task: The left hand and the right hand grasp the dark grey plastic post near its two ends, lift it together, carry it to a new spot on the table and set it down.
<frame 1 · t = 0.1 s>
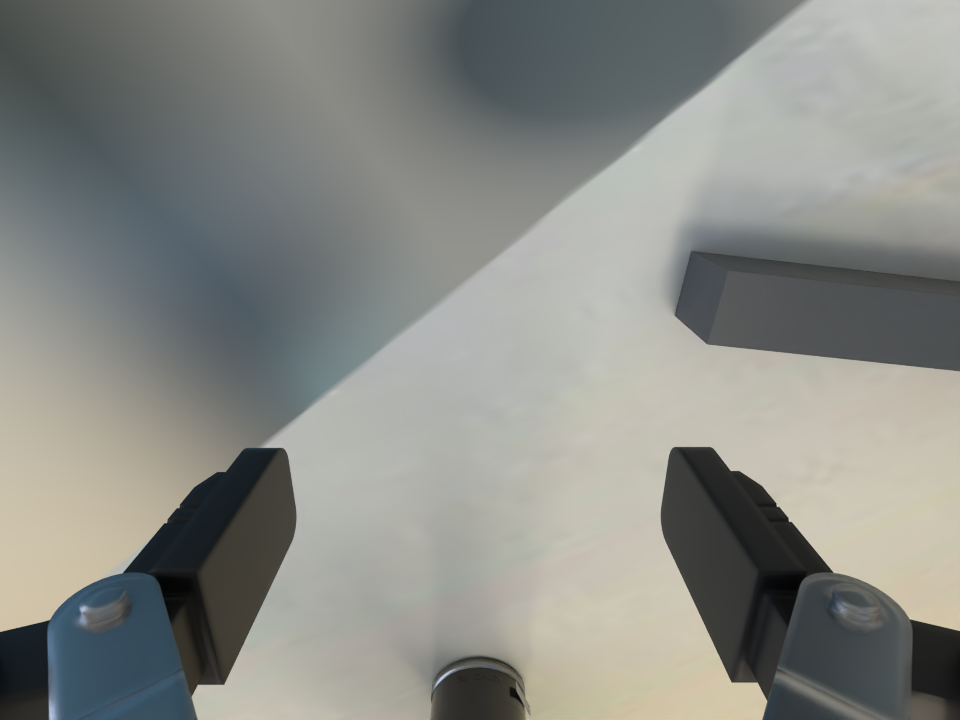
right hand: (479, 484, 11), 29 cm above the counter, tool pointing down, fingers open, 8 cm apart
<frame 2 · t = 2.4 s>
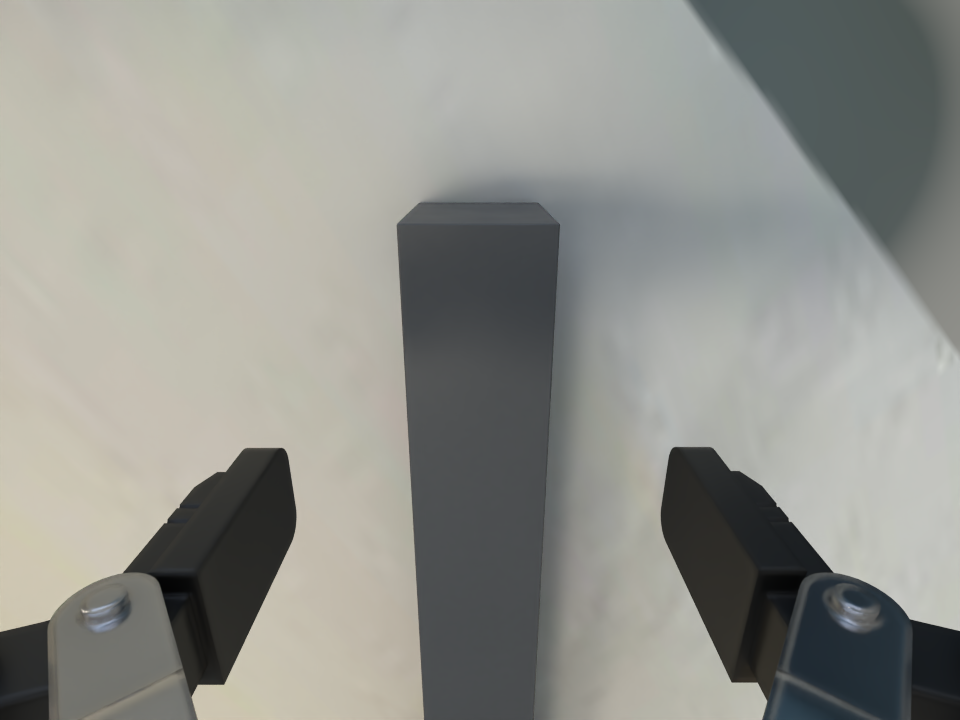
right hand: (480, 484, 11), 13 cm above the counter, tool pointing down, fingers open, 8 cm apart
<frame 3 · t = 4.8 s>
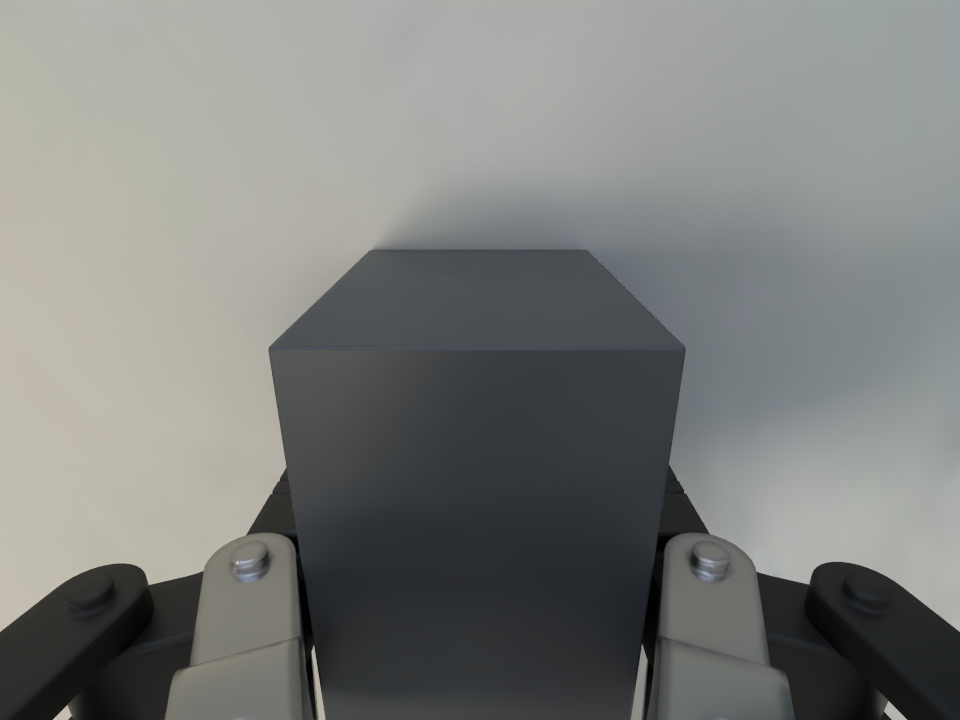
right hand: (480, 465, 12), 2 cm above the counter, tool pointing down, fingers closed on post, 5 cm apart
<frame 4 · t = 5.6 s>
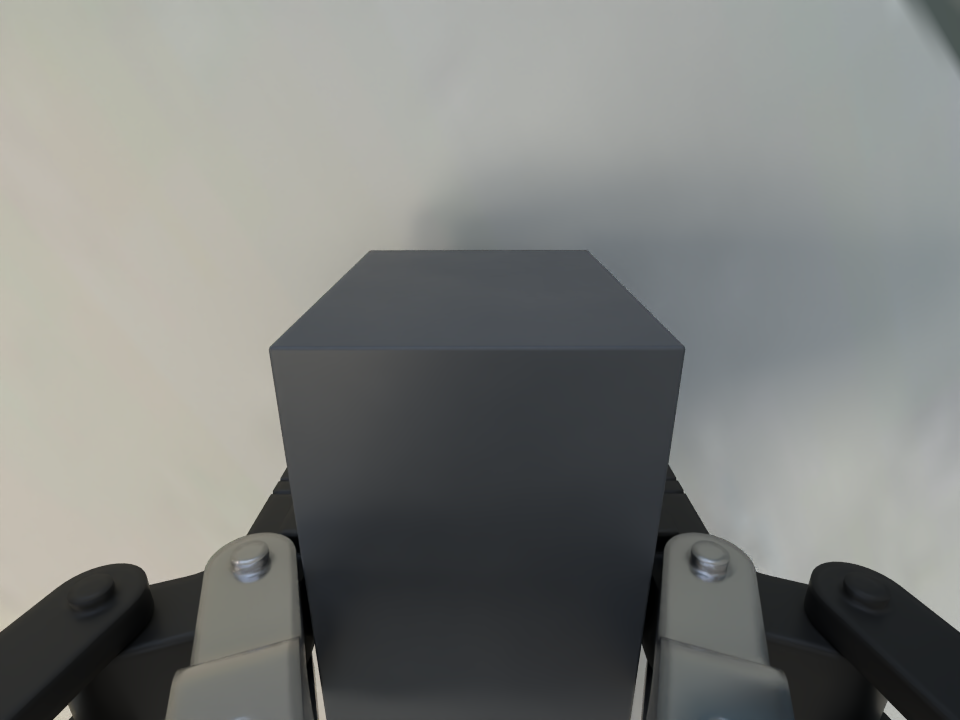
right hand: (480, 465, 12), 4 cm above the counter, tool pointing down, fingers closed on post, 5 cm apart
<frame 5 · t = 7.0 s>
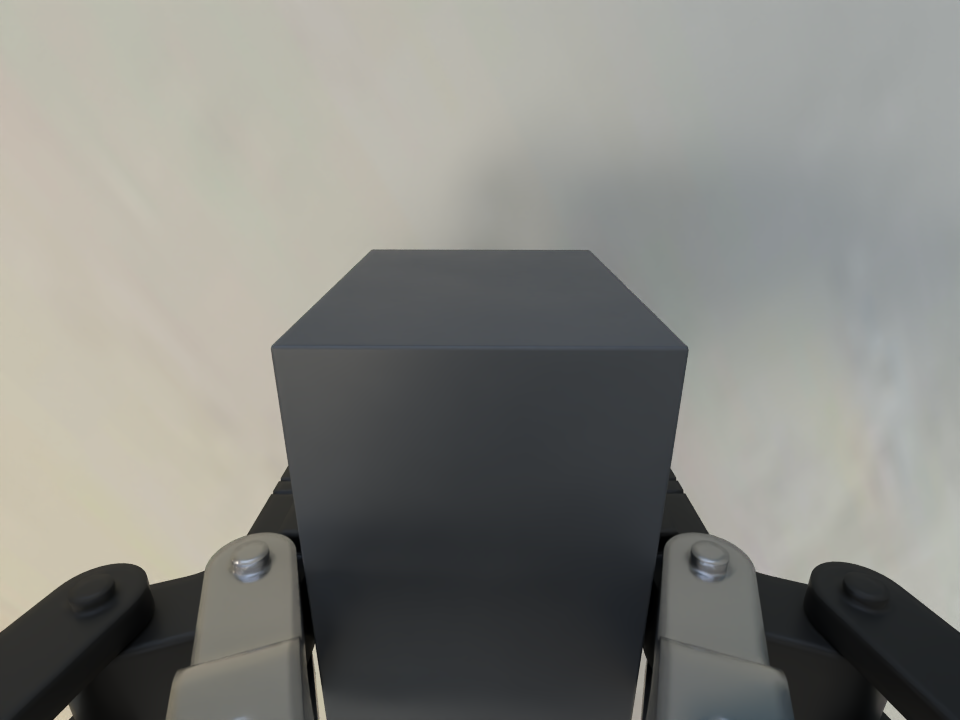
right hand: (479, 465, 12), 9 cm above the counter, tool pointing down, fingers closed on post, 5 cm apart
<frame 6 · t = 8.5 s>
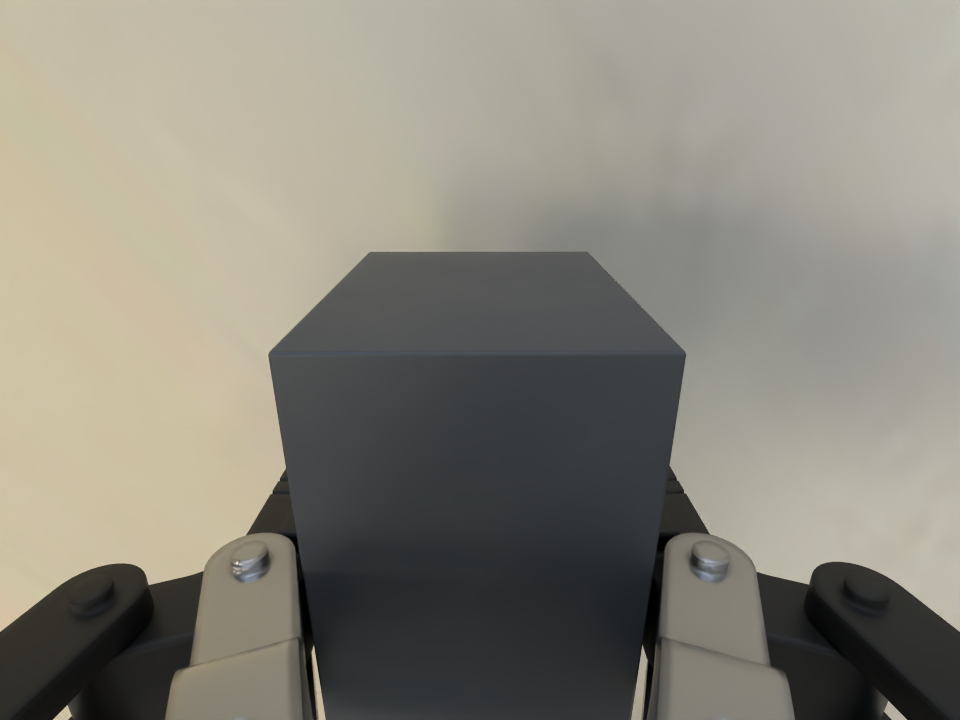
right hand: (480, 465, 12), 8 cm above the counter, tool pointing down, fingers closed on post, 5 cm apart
when the left hand's fingers open (0 cm above the counter, at t = 9.3 s): post stays where it is, on the counter.
when the right hand's fingers open (2 cm above the counter, at t = 9.5 s): post stays where it is, on the counter.
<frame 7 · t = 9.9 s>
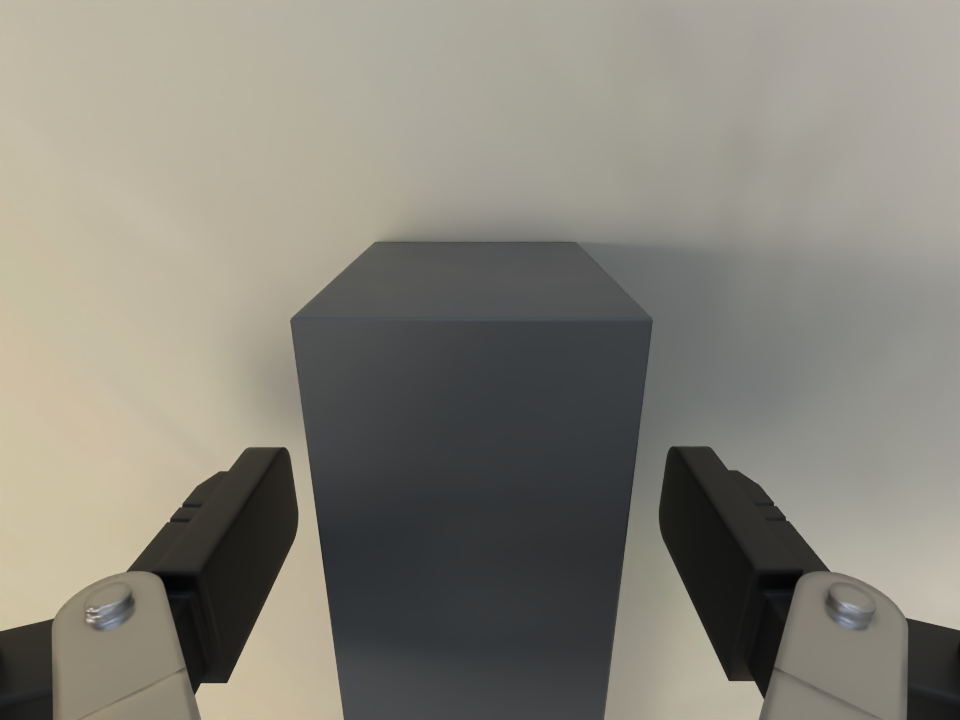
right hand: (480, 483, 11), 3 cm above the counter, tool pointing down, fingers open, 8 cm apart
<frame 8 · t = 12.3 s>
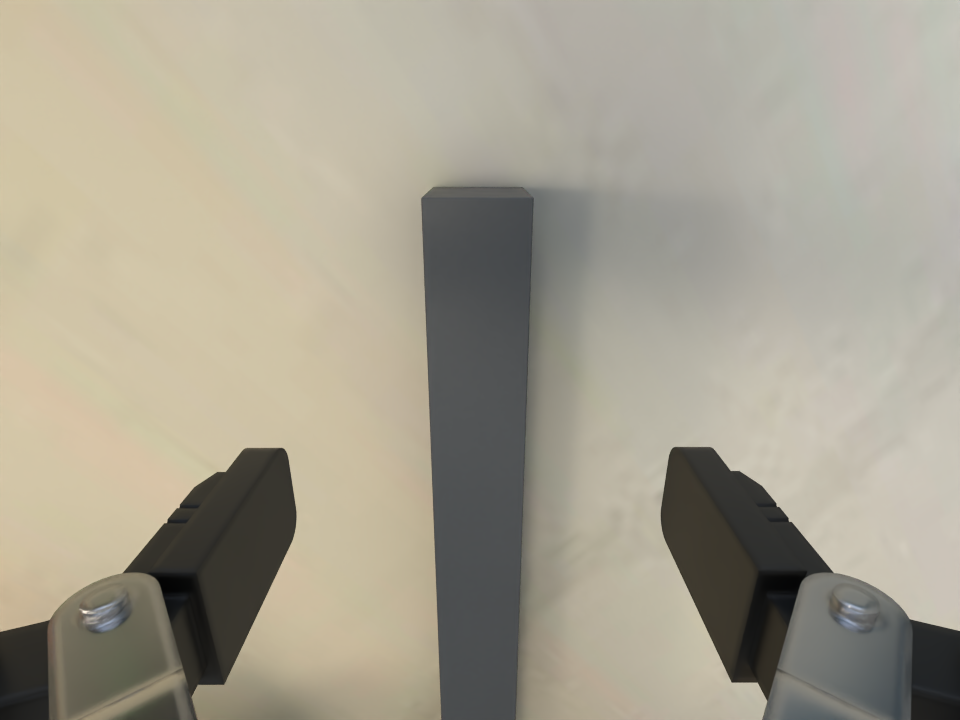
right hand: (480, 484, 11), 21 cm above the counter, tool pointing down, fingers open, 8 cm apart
post: (478, 681, 43), on the counter
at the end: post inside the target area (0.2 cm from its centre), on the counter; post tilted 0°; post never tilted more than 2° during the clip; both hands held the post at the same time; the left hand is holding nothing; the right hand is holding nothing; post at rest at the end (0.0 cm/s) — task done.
